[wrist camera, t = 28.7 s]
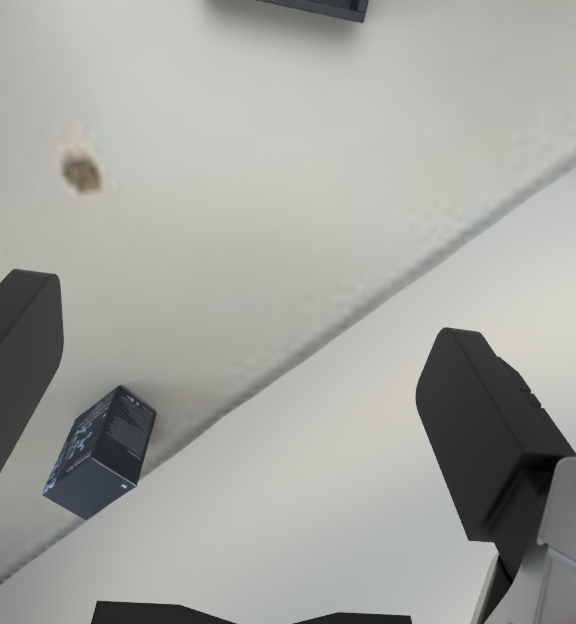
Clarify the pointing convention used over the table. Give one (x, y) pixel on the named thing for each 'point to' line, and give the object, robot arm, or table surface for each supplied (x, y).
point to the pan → (328, 7)
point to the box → (102, 454)
